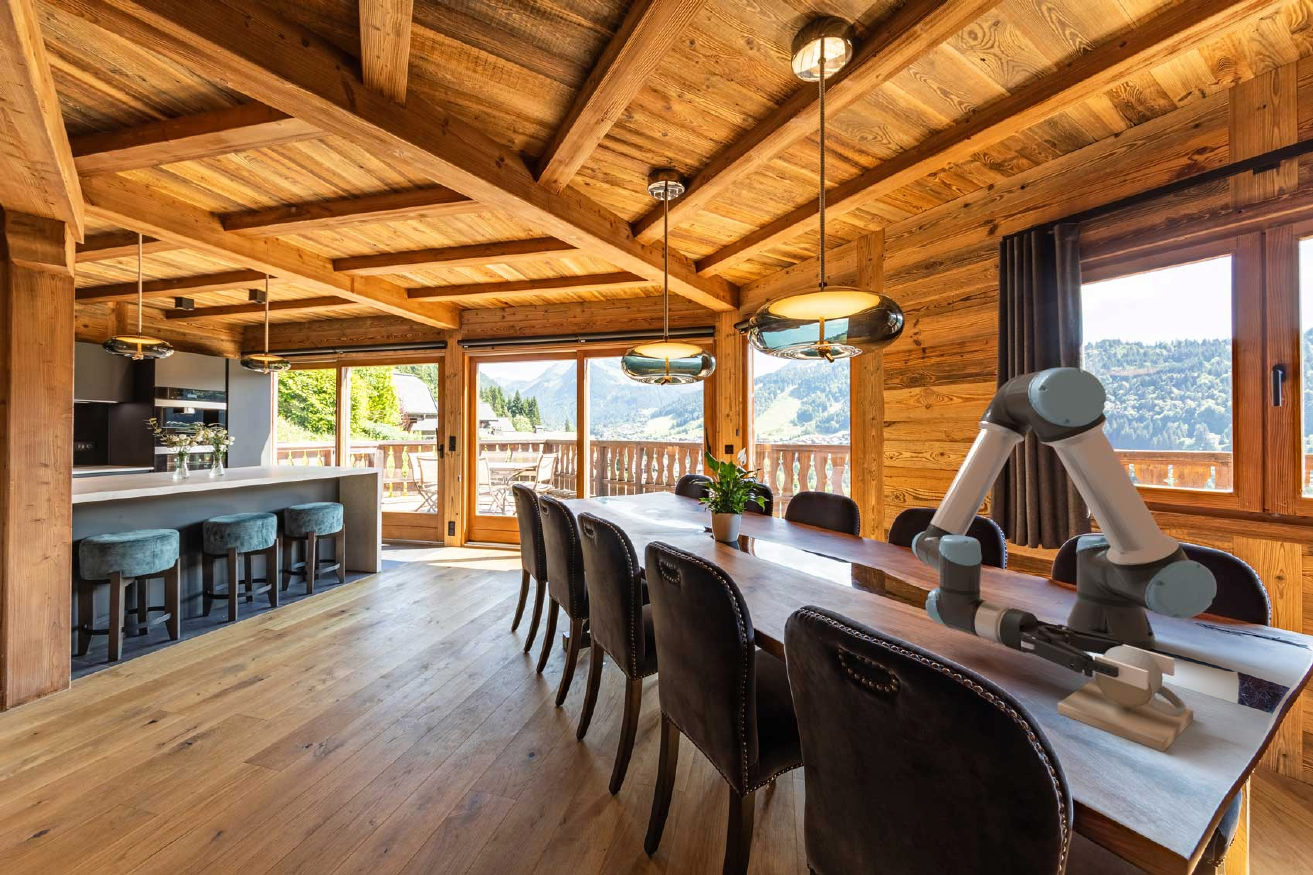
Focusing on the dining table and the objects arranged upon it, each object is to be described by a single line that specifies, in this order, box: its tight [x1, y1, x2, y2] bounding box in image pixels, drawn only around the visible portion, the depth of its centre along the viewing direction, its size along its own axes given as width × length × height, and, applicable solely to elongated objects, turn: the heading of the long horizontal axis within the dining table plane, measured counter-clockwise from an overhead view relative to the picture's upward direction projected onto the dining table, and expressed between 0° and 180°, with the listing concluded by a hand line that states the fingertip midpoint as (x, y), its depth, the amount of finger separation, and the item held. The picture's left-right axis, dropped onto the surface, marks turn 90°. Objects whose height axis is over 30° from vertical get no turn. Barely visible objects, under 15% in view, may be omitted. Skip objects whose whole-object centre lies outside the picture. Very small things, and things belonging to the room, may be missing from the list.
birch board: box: [1057, 678, 1194, 753], centre depth 87 cm, size 16×13×2 cm
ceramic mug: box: [1094, 646, 1187, 717], centre depth 85 cm, size 11×8×8 cm
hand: (1160, 673), depth 83 cm, fingers closed on ceramic mug, 9 cm apart
